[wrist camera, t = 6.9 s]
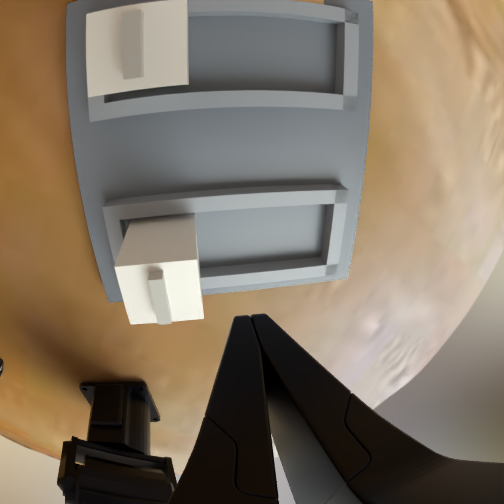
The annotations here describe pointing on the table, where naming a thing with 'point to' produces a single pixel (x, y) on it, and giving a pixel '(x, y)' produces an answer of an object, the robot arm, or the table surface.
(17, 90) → the table surface
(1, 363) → the ammunition clip
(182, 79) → the white block
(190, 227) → the white rectangular block
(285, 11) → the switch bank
